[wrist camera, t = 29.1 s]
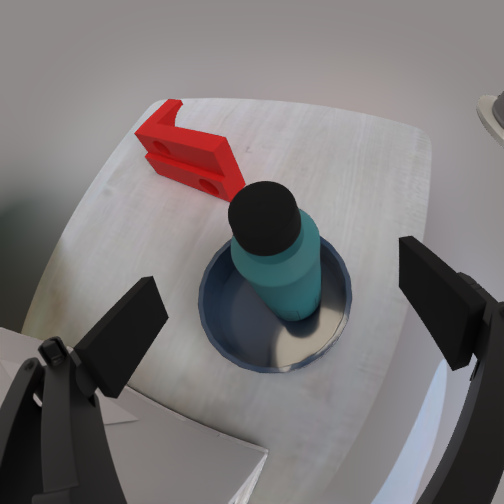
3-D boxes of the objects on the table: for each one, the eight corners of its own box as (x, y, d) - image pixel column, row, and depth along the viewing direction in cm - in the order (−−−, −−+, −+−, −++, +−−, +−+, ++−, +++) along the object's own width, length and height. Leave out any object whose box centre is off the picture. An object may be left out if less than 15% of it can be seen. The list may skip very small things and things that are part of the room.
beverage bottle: (333, 294, 32) (347, 192, 14) (296, 337, 30) (264, 288, 13) (292, 262, 34) (258, 145, 17) (256, 302, 33) (182, 218, 16)
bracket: (130, 137, 39) (168, 99, 42) (157, 173, 49) (189, 136, 51) (208, 157, 32) (251, 109, 35) (232, 203, 41) (266, 157, 44)
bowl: (355, 257, 33) (361, 235, 28) (328, 385, 28) (331, 389, 23) (237, 237, 39) (224, 215, 33) (201, 351, 33) (179, 346, 28)
